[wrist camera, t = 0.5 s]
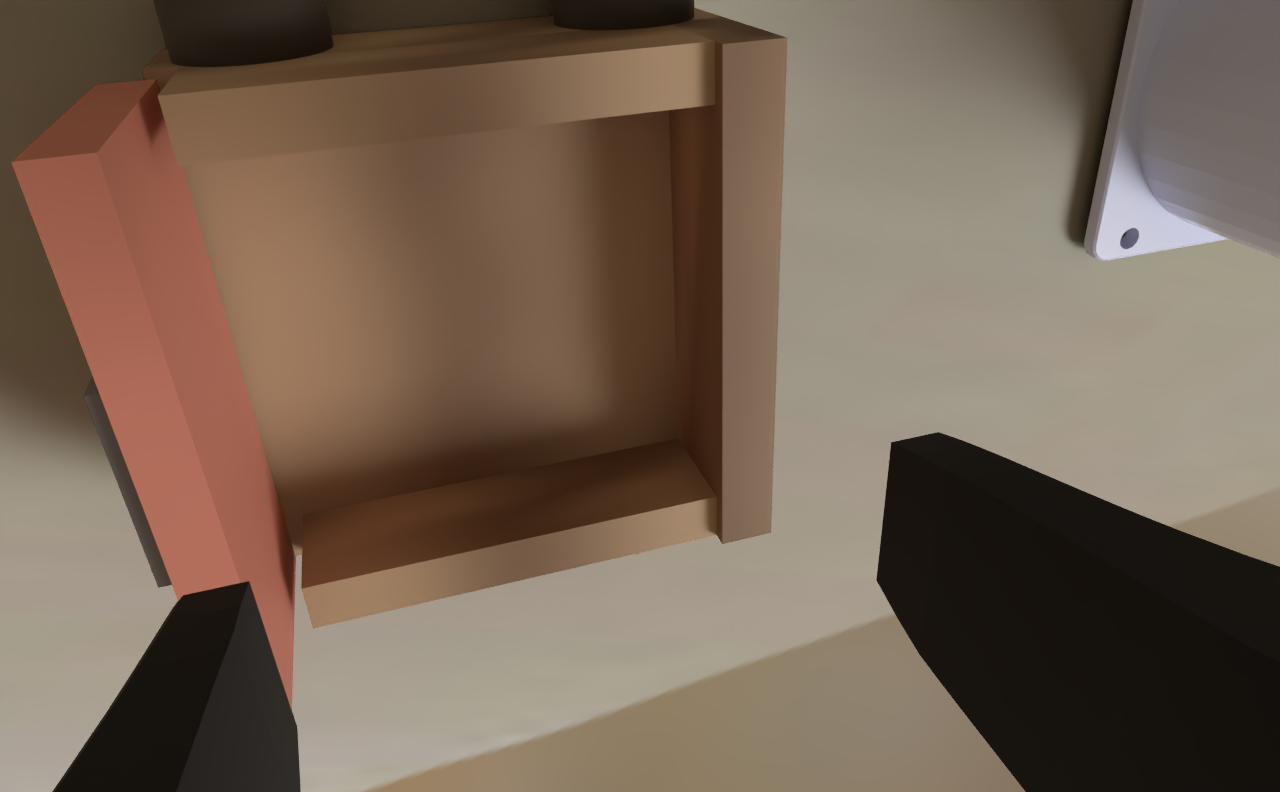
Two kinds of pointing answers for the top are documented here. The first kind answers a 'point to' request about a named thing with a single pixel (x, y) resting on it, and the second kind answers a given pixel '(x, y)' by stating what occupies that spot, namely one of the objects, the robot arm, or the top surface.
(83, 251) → the panel
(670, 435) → the box
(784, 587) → the top surface
